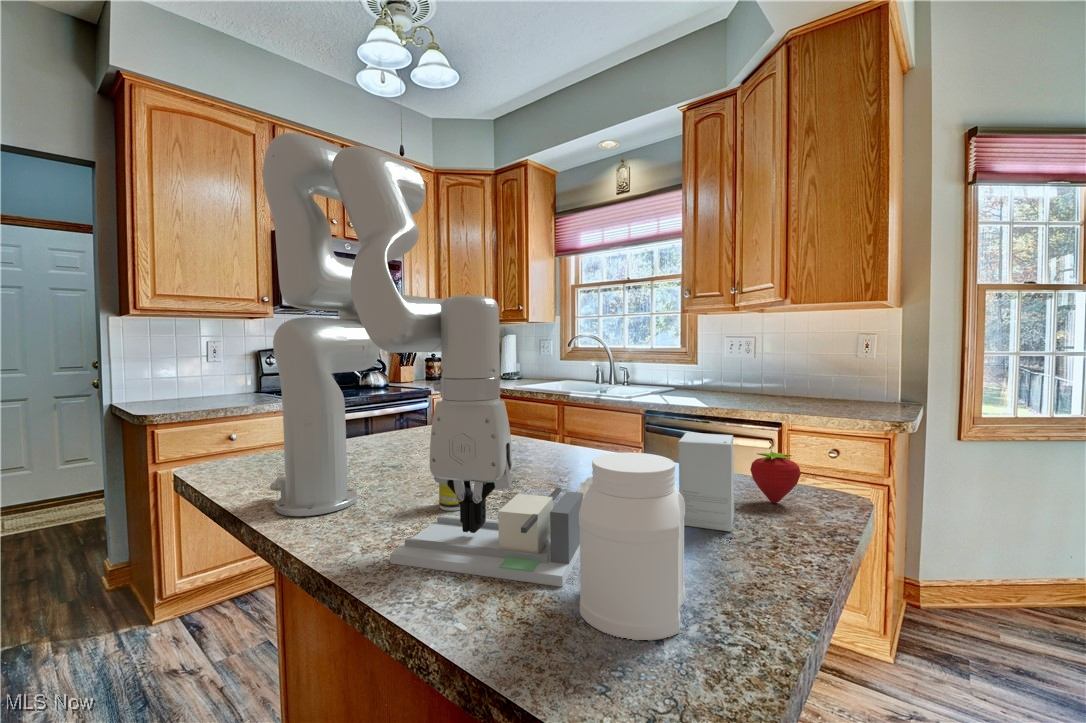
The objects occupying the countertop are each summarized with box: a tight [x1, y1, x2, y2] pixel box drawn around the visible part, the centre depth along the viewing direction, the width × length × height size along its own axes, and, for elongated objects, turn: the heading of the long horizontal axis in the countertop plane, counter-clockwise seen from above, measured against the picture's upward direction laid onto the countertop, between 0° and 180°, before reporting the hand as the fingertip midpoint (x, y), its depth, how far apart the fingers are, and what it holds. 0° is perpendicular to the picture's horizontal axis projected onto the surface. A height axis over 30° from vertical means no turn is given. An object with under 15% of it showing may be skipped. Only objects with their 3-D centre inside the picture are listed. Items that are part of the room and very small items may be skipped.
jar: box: [579, 452, 686, 641], centre depth 50 cm, size 12×10×15 cm
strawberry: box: [750, 443, 802, 504], centre depth 81 cm, size 6×8×10 cm
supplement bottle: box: [438, 483, 460, 512], centre depth 81 cm, size 5×5×8 cm
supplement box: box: [677, 432, 735, 532], centre depth 73 cm, size 7×7×13 cm
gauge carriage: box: [497, 487, 562, 554], centre depth 62 cm, size 5×15×5 cm, turn 163°
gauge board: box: [389, 491, 583, 588], centre depth 64 cm, size 22×14×7 cm, turn 73°
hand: (473, 528), depth 65 cm, fingers closed
